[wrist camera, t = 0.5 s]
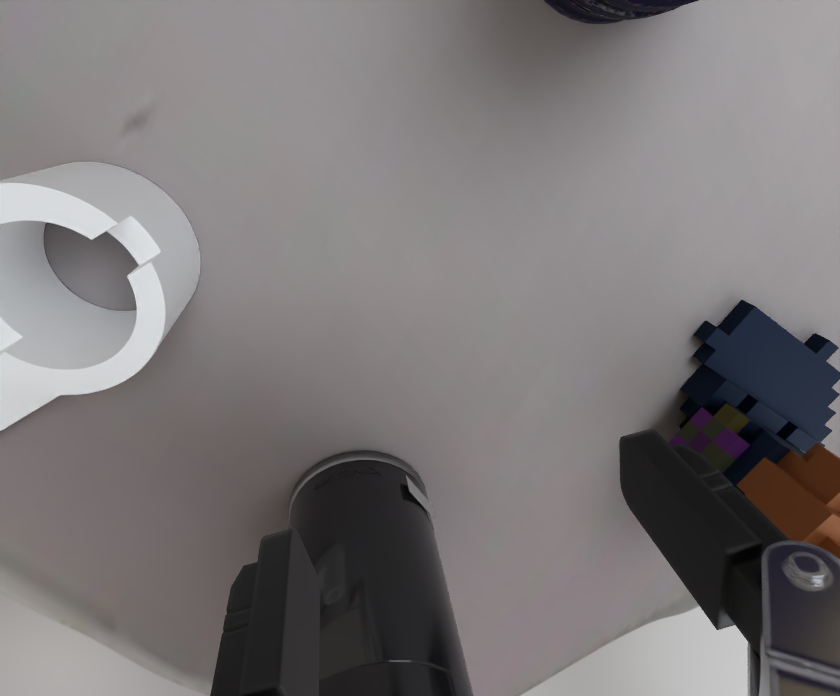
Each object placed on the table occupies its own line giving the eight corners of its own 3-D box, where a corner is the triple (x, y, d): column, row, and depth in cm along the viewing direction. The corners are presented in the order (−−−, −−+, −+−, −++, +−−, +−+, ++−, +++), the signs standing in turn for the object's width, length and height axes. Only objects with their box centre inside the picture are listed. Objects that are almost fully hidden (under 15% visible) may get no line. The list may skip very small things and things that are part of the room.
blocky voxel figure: (603, 437, 37) (724, 588, 26) (745, 275, 33) (962, 370, 22) (732, 506, 42) (879, 657, 31) (867, 375, 38) (1092, 492, 27)
